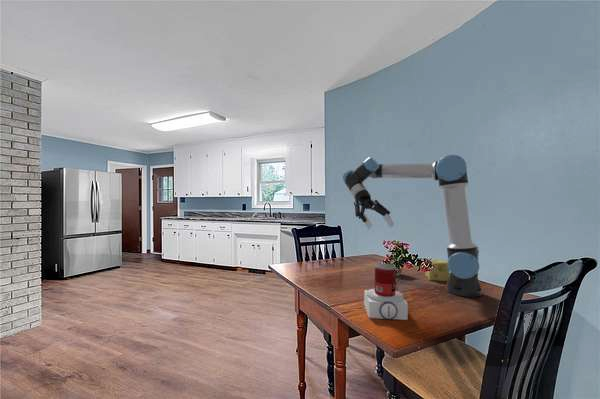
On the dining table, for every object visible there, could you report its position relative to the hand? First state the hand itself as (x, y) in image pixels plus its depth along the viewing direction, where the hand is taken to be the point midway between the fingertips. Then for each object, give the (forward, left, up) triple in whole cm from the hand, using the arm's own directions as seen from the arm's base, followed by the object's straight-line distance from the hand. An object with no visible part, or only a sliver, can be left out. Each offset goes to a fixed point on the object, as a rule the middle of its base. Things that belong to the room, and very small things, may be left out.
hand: (381, 226), depth 137 cm
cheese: (-37, -32, -32) cm, 58 cm away
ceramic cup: (-17, -38, -32) cm, 52 cm away
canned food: (+2, +22, -25) cm, 33 cm away
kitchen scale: (+2, +22, -32) cm, 38 cm away
